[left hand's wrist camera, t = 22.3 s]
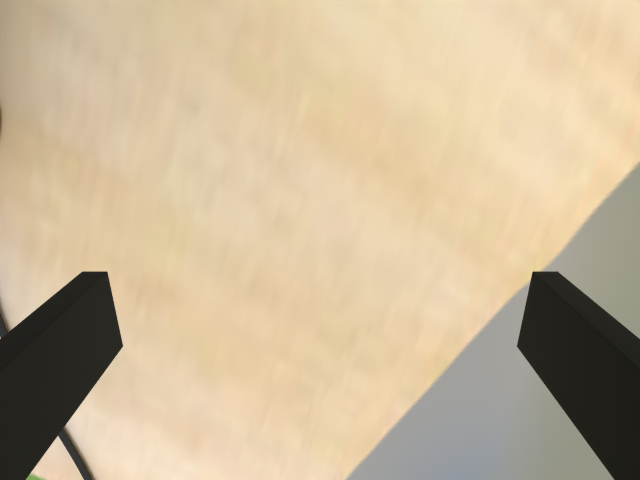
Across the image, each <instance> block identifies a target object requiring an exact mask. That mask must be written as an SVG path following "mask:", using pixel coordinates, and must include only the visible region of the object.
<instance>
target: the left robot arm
mask: <svg viewBox="0 0 640 480" xmlns="http://www.w3.org/2000/svg"><path fill="white" fill-rule="evenodd" d="M0 337H1V339H0V480H26V478H27V477H28V476H29V474H30V473H31V472H32V470H33V469H34V467H35V466H36V465H37V463H38V462H39V461H40V459H41V458H42V456H43V455H44V454H45V452H46V451H47V450H48V448H49V447H50V445H51V444H52V443H53V441H54V440H55V439H56V437H57V436H59V438H60V439H61V441H62V442H63V444H64V446H65V447H66V449H67V451H68V452H69V454H70V456H71V457H72V459H73V461H74V462H75V464H76V466H77V468H78V469H79V471H80V473H81V475H82V477H83V479H84V480H92V478H91V476H90V474H89V472H88V470H87V468H86V466H85V464H84V463H83V461H82V459H81V457H80V455H79V454H78V452H77V450H76V449H75V447H74V445H73V444H72V442H71V440H70V439H69V437H68V435H67V434H66V432H65V430H64V429H63V428H64V426H65V425H66V424H67V422H68V421H69V419H70V418H71V417H72V415H73V414H74V413H75V411H76V410H77V409H78V407H79V406H80V404H81V403H82V402H83V400H84V399H85V398H86V396H87V395H88V393H89V392H90V391H91V389H92V388H93V387H94V385H95V384H96V383H97V381H98V380H99V378H100V377H101V376H102V374H103V373H104V372H105V370H106V369H107V367H108V366H109V365H110V363H111V362H112V361H113V359H114V358H115V357H116V355H117V354H118V352H119V351H120V350H121V348H122V347H123V344H122V339H121V335H120V330H119V325H118V320H117V316H116V311H115V306H114V301H113V297H112V292H111V287H110V282H109V278H108V273H107V272H81V273H80V274H79V275H78V276H77V277H75V278H74V279H73V280H72V281H70V282H69V283H68V284H67V285H66V286H64V287H63V288H62V289H61V290H59V291H58V292H57V293H56V294H55V295H53V296H52V297H51V298H50V299H49V300H47V301H46V302H45V303H44V304H42V305H41V306H40V307H39V308H38V309H36V310H35V311H34V312H33V313H31V314H30V315H29V316H28V317H27V318H25V319H24V320H23V321H22V322H21V323H19V324H18V325H17V326H16V327H14V328H13V329H12V330H11V331H10V332H8V331H7V329H6V326H5V324H4V321H3V319H2V316H1V313H0ZM517 347H518V348H519V350H520V351H521V352H522V354H523V355H524V357H525V358H526V359H527V361H528V362H529V363H530V365H531V366H532V367H533V369H534V370H535V371H536V373H537V374H538V376H539V377H540V378H541V380H542V381H543V383H544V384H545V385H546V387H547V388H548V389H549V391H550V392H551V393H552V395H553V396H554V398H555V399H556V400H557V402H558V403H559V404H560V406H561V407H562V409H563V410H564V411H565V413H566V414H567V415H568V417H569V418H570V419H571V421H572V422H573V423H574V425H575V426H576V428H577V429H578V430H579V432H580V433H581V434H582V436H583V437H584V439H585V440H586V441H587V443H588V444H589V445H590V447H591V448H592V450H593V451H594V452H595V454H596V455H597V456H598V458H599V459H600V461H601V462H602V463H603V465H604V466H605V467H606V469H607V470H608V471H609V473H610V474H611V476H612V477H613V478H614V480H640V339H639V338H638V337H637V336H635V335H634V334H633V333H632V332H630V331H629V330H628V329H627V328H626V327H624V326H623V325H622V324H621V323H619V322H618V321H617V320H616V319H615V318H613V317H612V316H611V315H610V314H609V313H607V312H606V311H605V310H604V309H602V308H601V307H600V306H599V305H598V304H596V303H595V302H594V301H593V300H591V299H590V298H589V297H588V296H587V295H585V294H584V293H583V292H582V291H581V290H579V289H578V288H577V287H576V286H574V285H573V284H572V283H571V282H570V281H568V280H567V279H566V278H565V277H563V276H562V275H561V274H560V273H559V272H533V273H532V278H531V282H530V287H529V292H528V297H527V301H526V306H525V311H524V316H523V320H522V325H521V330H520V335H519V339H518V344H517Z"/></svg>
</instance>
